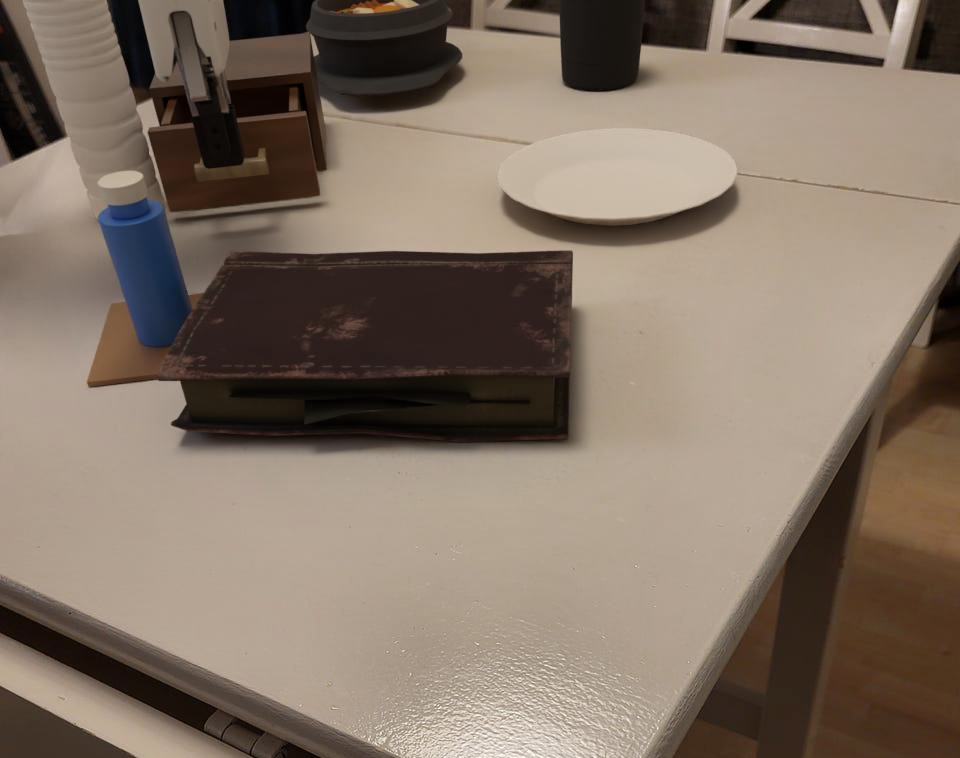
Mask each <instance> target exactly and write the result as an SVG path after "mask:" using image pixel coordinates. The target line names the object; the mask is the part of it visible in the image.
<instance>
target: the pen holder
mask: <svg viewBox="0 0 960 758" xmlns="http://www.w3.org/2000/svg"><path fill="white" fill-rule="evenodd" d="M645 5H646V0H558V9H559V10H558V11H559V38H560V39H559V41H560V63H561V66H560V67H561V79H562V80H563V82H564V84H565V85H567V86H568V87H570V88H573V89H577V90H582V91H595V92H596V91H598V92H599V91H610V90H618V89H621V88H624V87H627V86H630V85H632V84H634V82H636V80H637V78H638V76H639V71H640V64H641V63H640V62H641V51H642V42H643V40H642V39H643V28H644V18H645V16H644V15H645Z"/></svg>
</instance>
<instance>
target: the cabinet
mask: <svg viewBox="0 0 960 758" xmlns="http://www.w3.org/2000/svg"><path fill="white" fill-rule="evenodd" d="M311 36H312V35H311V34H310V33H309V32H305V33H296V34H295V33H293V34H285V35H276V36H264V37H255V38H247V39H245V38H244V39H236V40H229V52H228V57H227V62H226V66H225V69H224V70H225V75H226V79H227V84H228V89H229V90H239V89H248V88H258V87H268V86H277V85H287V84H296V83H299V84H300V90H301V96H302V102H303V108H304V111H306V112H307V118H308V124H309V130H310V136H311V141H312V147H313V153H314V159H315V165H316V171H317V172H318V171H326V170H327V169H328V168H327V146H326V124H325V118H324V112H323V105H322V98H321V91H320V85H319V80H318V79H317V73H316V67H315V61H314V56H315V55H314V49H313V43H312V37H311ZM149 93H150V96H151V100H152V105H153V107H154V112H155V115H156V119H157V122H158V127H159V126H161V123H162V120H163V117H164V114H165V110H166V107H167V104H168V101H169V98H170V97H172V96H181V95H186V92H185V88H184V84H183V81H182V77H181V74H180V70H179V66H178V63H177V62H176V65H175V68H174V71H173V74H172V76H170V79H169V81H168V82H163V81H161V80H160V79H159V78H158V77H157V76H156V73H155V72H154V75H153V78H152V80H151V83H150V85H149Z"/></svg>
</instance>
